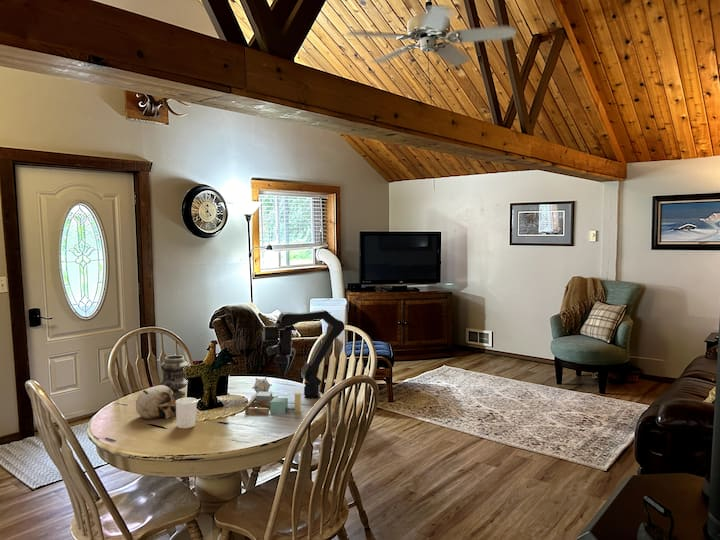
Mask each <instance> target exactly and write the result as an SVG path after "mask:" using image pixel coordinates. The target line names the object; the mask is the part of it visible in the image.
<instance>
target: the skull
mask: <svg viewBox="0 0 720 540" xmlns="http://www.w3.org/2000/svg"><path fill="white" fill-rule="evenodd" d="M178 399H179V398H178V397H177V398H176V396H175V393H173V391H172V390H171V389H170V388H169V387H167V386H164V385H160V384H159V385H154V386H151V387H148V388H145V389H144V390H142V391H141V392H140V393H139V395H138V396H137V398H136V400H135V411H136V412H137V414H138V415H139V416H140V417H142V418H143V419H145V420H156V419H159V418H163V417H164V419H166V420H167V419H170V418H176V400H178Z"/></svg>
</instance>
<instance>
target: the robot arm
mask: <svg viewBox="0 0 720 540" xmlns="http://www.w3.org/2000/svg"><path fill="white" fill-rule="evenodd" d="M317 320H323V321H324V322H325V323H326V324H327V326H326V332H325V336H324V337H323V339H322V341H321V343H320V344H319V346H318V348H317V349H316V352H314V355H313V356H312V358H311V360H310V361H309V362H307V361H304V364H303V366H302V367H301V371H300V375H301V378H302V379H304V381H305V385H304V389H303V390H304V391H303V396H304V398H305V397H308V398H307V399H319V397H320V395H321V393H320V386H321V383H322V380H321V379H320V378H319V377H318V374H319V371H320V366H321V363H322V362H323V360H324V359H325V356H326V355H327V353H328V351H329V349H330V348H331V346H332V344H333V342H334V340H336V339H337V338H338V337H339V336H340V335H341V334H342V332H343V331H344V330H345V323H344V322H343V321H342V320H340V319H338V318H336V317H334V316H333V315H332V314H331V313H329V311H327V310H325V309H321V310H316V311H307V312H306V311H305V312H288V311H287V312H286V311H283V312H281V313H280V314H279V315H278V318H277V321H276V322H275V324H273V325H264V326H263V329H262V332H261V333H262V334H261V337H262V341H263V342H273V341H275V342H276V341H277V340H278V342H277V344H276V345H275V344H274V345H273V346H272V345H271V346H268V347H267V348H266V350H265V351H266V354H267V356H268V357H270V356H272V355H275V354H276V356H274V357H273V362H274V363H275V364H277V365H278V367H279V372H280V375H281V377H284V376H285V375H286V372H289V370H290V368H291V365H292V363H293V360H294V358H295V356H296V349H295V348H294V347H293V346H292V345H293V344H294V343H293V341H292V340H293V339H292V338H293V336H292V335H293V331H297V328H296V327H295V326H294V325H296V324H298V323H301V322H309V321H310V322H311V321H317Z"/></svg>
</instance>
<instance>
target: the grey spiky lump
mask: <svg viewBox="0 0 720 540" xmlns="http://www.w3.org/2000/svg"><path fill="white" fill-rule="evenodd" d="M271 386H273V384H270V382H269V381H268V380H267V376H265V377H264V378H255V383H254V386H253V387H251V389H254V391H255V392H256V393H258V392H269V390H270V388H271Z"/></svg>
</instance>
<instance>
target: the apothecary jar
mask: <svg viewBox="0 0 720 540" xmlns="http://www.w3.org/2000/svg"><path fill="white" fill-rule="evenodd" d="M188 365H189V363H188V361H186V359H185V356H184V355H182V354H171V355H167V356H165V357H164V361H162V363H161V365H160V367H161V369H162V370H163V377H162V380H161V381H160V384H159V385H164V386H167V387H169V388H170V389H171V390H172V391H173V393H175V396H176V398H177V399H178V398H182V397H183V396H185V395H186V392H185V391H182V389H184V388H186V387H187V385H188V384H187V381H188V379H187V378H186V377H185V378H186V379H187V380H186V379H185V378H184V372H183V368H184V367H185V366H187V367H188Z"/></svg>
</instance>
